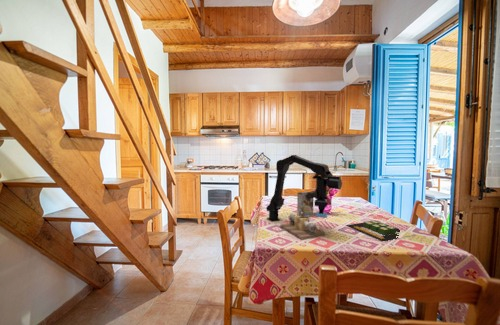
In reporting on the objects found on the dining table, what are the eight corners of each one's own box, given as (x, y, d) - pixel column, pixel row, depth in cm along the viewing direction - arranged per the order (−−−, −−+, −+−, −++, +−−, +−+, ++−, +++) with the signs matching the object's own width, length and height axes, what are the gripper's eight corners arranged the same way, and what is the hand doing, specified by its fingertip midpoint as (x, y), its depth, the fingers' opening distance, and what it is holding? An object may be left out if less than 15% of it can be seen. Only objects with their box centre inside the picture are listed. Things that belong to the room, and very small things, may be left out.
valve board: (279, 227, 134) (280, 211, 134) (301, 223, 141) (302, 208, 140) (301, 240, 116) (301, 222, 116) (325, 235, 123) (325, 218, 122)
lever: (299, 215, 127) (299, 212, 127) (299, 213, 130) (299, 210, 130) (326, 217, 123) (326, 214, 123) (326, 216, 126) (326, 212, 126)
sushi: (345, 226, 138) (345, 220, 138) (375, 222, 147) (376, 216, 147) (382, 243, 115) (383, 235, 115) (416, 236, 124) (416, 229, 124)
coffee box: (308, 214, 161) (309, 191, 160) (313, 216, 155) (314, 193, 154) (296, 215, 159) (297, 192, 158) (301, 217, 153) (301, 194, 152)
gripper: (307, 183, 137) (307, 208, 139) (304, 189, 120) (304, 218, 121) (327, 184, 134) (326, 210, 135) (327, 190, 116) (326, 220, 118)
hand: (320, 214), depth 128 cm, fingers closed
